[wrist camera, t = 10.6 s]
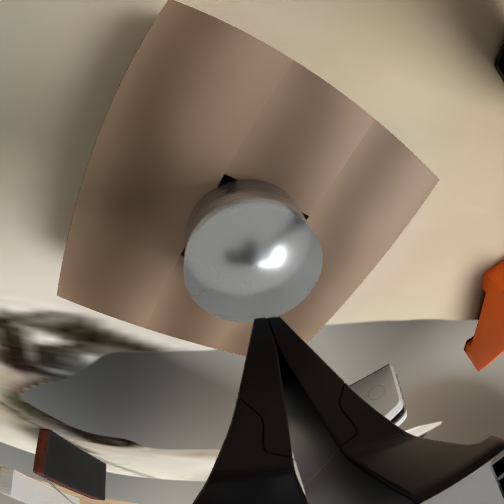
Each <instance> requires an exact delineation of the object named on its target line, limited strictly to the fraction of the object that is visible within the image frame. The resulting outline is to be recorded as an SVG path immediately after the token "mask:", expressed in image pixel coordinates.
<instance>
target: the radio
mask: <svg viewBox="0 0 504 504" xmlns="http://www.w3.org/2000/svg"><path fill="white" fill-rule="evenodd" d="M33 471H34V473H36V474H38V475H39V476H41V477H43V478H45V480H46V481H47V482H48V483H49V484H50V485H52V486H53V487H54V488H55V489H56V490H57V491H58V492H59V493H61V492H60V491H59V490H58V489H57V488H56V487H55V486H54V485H53V484H51V483H50V482H49V481H48V480H50V481H52V482H54V483H56V484H58V485H60V486H62V487H65V488H67V489H69V490H71V491H74V492H76V493H79V494H81V495H84V496H86V497H89V498H91V499H97V500H105V479H106V464H105V463H103V462H102V461H100V460H98V459H96V458H94V457H93V456H91V455H89V454H88V453H86V452H84V451H83V450H81V449H79V448H78V447H76V446H74V445H73V444H71V443H70V442H68V441H66V440H65V439H63V438H62V437H60V436H59V435H57V434H56V433H54V432H53V431H52V430H40V432H39V437H38V442H37V448H36V454H35V461H34V468H33ZM61 494H62V495H63V496H64V497H65V498H66V499H68V498H67V497H66V496H65V495H64V494H63V493H61ZM68 500H69V499H68ZM69 501H70V502H71V503H73V502H72V501H71V500H69ZM73 504H74V503H73Z"/></svg>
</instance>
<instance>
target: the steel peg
mask: <svg viewBox="0 0 504 504" xmlns="http://www.w3.org/2000/svg"><path fill="white" fill-rule="evenodd" d="M322 262H323V256H322V249H321V245H320V242H319V240H318V238H317V236H316V235H315V233H314V231H313V230H312V228H311V227H310V225H309V224H308V222H307V220H306V219H305V217H304V216H303V214H302V213H301V211H300V210H299V208H298V206H297V205H296V203H295V202H294V200H293V199H292V198H291V197H290V196H289V195H288V194H287V193H286V192H285V191H284V190H282V189H281V188H279V187H278V186H276V185H274V184H271V183H269V182H265V181H262V180H255V179H241V180H237V179H235V178H232V177H230V176H228V175H226V174H224V176H223V177H222V179H221V181H220V183H219V184H218V186H217V187H216V188H214V189H212V190H211V191H209V192H208V193H207V194H205V195H204V196H203V197H202V198H201V199H200V200H199V201H198V203H197V204H196V205H195V207H194V208H193V210H192V212H191V214H190V216H189V218H188V222H187V226H186V237H185V253H184V280H185V284H186V287H187V290H188V292H189V294H190V295H191V297H192V299H193V300H194V301H195V302H196V303H197V304H198V305H199V306H200V307H201V308H202V309H203V310H205V311H206V312H208V313H210V314H212V315H214V316H216V317H218V318H221V319H224V320H228V321H234V322H254V319H255V318H260V317H266V318H268V317H274V316H279V315H281V314H284V313H286V312H287V311H289V310H291V309H293V308H294V307H295V306H297V305H298V304H299V303H300V302H302V301H303V300H304V299H305V298H306V297H307V296H308V295H309V293H310V292H311V291H312V289H313V288H314V286H315V285H316V283H317V281H318V279H319V276H320V273H321V269H322Z"/></svg>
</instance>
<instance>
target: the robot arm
mask: <svg viewBox="0 0 504 504" xmlns="http://www.w3.org/2000/svg"><path fill="white" fill-rule="evenodd" d="M495 65H496V68H497V70H498V71H499V73H500V75H501V76H502V78H503V80H504V44H503V46H502V48H501V50H500V52H499V54H498V56H497V59H496V61H495ZM503 451H504V438H502V437H498V436H495V435H491V436H489V437H488V438H486V439H485V440H483V441H482V442H480V443H477V444H472V445H464V444H456V443H449V442H443V441H437V440H431V439H425V438H421V437H417V436H414V435H411V434H409V433H407V432H405V431H404V430H402V429H401V428H399V427H398V426H397V425H395V424H394V423H393V422H391V421H390V420H389V419H387V418H386V417H385V416H383V415H382V414H381V413H379V412H378V411H377V410H375V409H374V408H373V407H372V406H370V405H369V404H368V403H367V402H366V401H364V400H363V399H362V398H361V397H360V396H359V395H358V394H357V393H356V392H355V391H353V390H352V389H351V388H350V387H349V386H348V385H347V384H346V383H345V384H344V381H343V380H342V379H341V378H340V377H339V376H338V375H337V374H336V373H335V372H334V371H333V370H332V369H331V368H330V367H329V366H328V365H327V364H326V363H325V362H324V361H323V360H322V359H321V358H320V357H319V356H318V355H317V354H316V353H315V352H314V351H313V350H312V349H311V348H310V347H309V346H308V345H307V344H306V343H305V342H304V341H303V340H302V339H301V338H300V337H299V336H298V335H297V334H296V333H295V332H294V330H293V329H292V328H291V327H290V326H289V325H288V324H287V323H286V322H285V321H284V320H283V319H282V318H281V317H279V316H274V317H268V318H266V317H260V318H255V319H254V322H253V326H252V331H251V336H250V341H249V346H248V350H247V355H246V360H245V365H244V369H243V374H242V379H241V384H240V388H239V392H238V398H237V401H236V406H235V410H234V414H233V417H232V421H231V424H230V427H229V430H228V433H227V435H226V438H225V440H224V443H223V445H222V448H221V450H220V452H219V455H218V457H217V459H216V462H215V464H214V467H213V469H212V471H211V473H210V475H209V477H208V479H207V481H206V483H205V485H204V487H203V488H202V490H201V491H200V493H199V494H198V496H197V497H196V499H195V501H194V502H193V504H308V503H309V504H504V456H503V457H501V458H500V459H499V460H497V461H496V462H494V463H493V464H491V462H490V461H491V460H492V459H493V458H495V457H496V456H497V455H499V454H500V453H501V452H503ZM292 452H293V455H294V458H295V461H296V465H297V468H298V471H299V474H300V478H301V481H302V484H303V487H304V491H305V494H306V497H307V499H306V497H305V494H304V492H303V490H302V487H301V485H300V482H299V480H298V478H297V475H296V472H295V468H294V462H293V458H292V457H293V455H292ZM307 500H308V501H307Z"/></svg>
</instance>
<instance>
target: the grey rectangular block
mask: <svg viewBox="0 0 504 504" xmlns="http://www.w3.org/2000/svg"><path fill="white" fill-rule="evenodd" d="M0 473H1V474H0V492H1V493H3V494H5V495H7V496H10V497H12V498H14V499H16V500H19V501H21V502H23V503H25V504H73V503H74V504H79V500H80V499H79V498H76V497H74V496H71V495H68V494H66V493H63V492H61V491H60V492H61V493H63V494H64V495H65V496H66V497H67V498H68V499H69V500H71V501H72V502H73V503H71V502H70V501H69V500H68V499H66V498H65V497H64V496H63V495H62V494H61V493H59V492H58V491H57V490H56V489H54V488H51V487H49V486H47V485H44V484H42V483H40V482H38V481H36V480H33V479H31V478H29V477H27V476H25V475H23V474H21V473H20V472H18V471H16V470H15V469H10V468H9V469H8V468H3V467H1V470H0Z"/></svg>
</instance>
